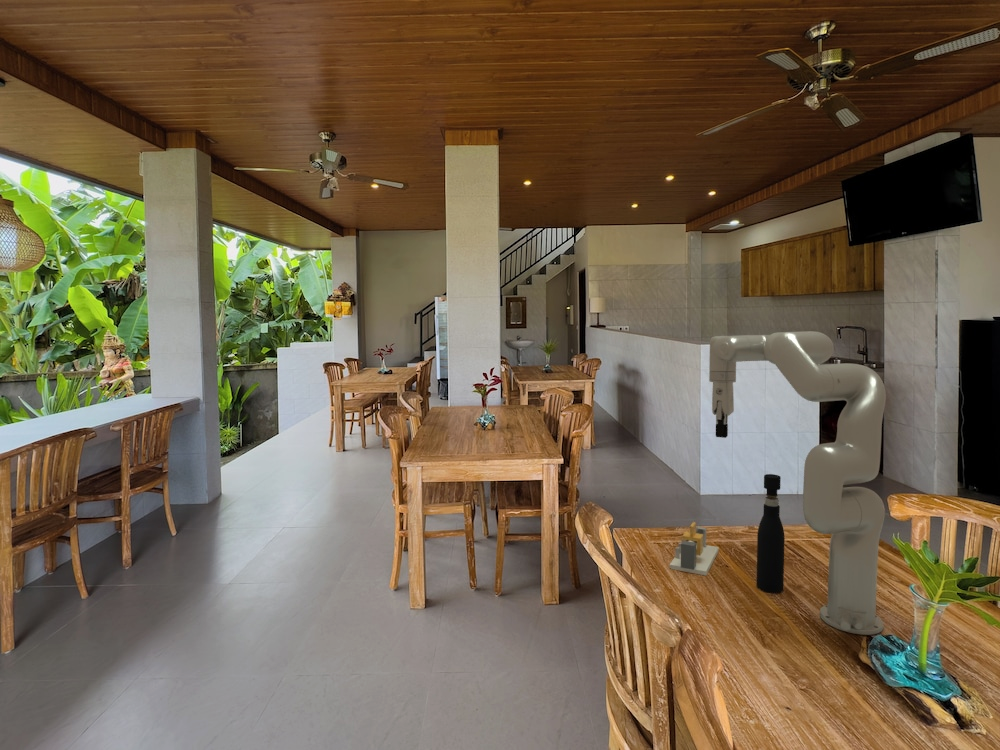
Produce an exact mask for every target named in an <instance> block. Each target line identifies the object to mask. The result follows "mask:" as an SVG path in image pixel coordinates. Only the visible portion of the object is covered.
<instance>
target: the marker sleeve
mask: <svg viewBox="0 0 1000 750" xmlns="http://www.w3.org/2000/svg"><path fill="white" fill-rule="evenodd" d="M689 527H690V529H689V531H685V532H684V533H683V534H682V538H683V541H697V550H696V555H699V556H701V554H702V552H703V534H698V533H696V527H697V522H695V521H692V523H691V524H690V526H689Z"/></svg>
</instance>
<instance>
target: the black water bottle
mask: <svg viewBox="0 0 1000 750" xmlns="http://www.w3.org/2000/svg"><path fill="white" fill-rule="evenodd" d="M781 479H782V478H781V476H780V475H779V474H772V473H769V474H768V473H767V474H766V473H765V474H764V476H763V488H764V489H765V490H766V493H765V495H766V496H765V498H764V504H763V514H762V517H761V520H760V522H759V526H758V529H757V537H756V538H757V539H756V540H757V541H756V543H757V544H756V588H757V589H758V590H760V591H762V592H764V593H768V594H780V593H783V591H784V582H785V581H784V580H785V579H784V578H785V577H784V576H785V575H784V573H785V540H786V539H785V538H786V537H785V530H784V526H783V524H782V523H783V522H782V520H781V517H780V505H779V501H780V500H779V498H778V491H780V490H781Z"/></svg>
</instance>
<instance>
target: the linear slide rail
mask: <svg viewBox="0 0 1000 750" xmlns="http://www.w3.org/2000/svg"><path fill="white" fill-rule="evenodd" d="M696 533H698V534H703V552H702V554H701V556H699V555H696V550H697V541H690V540H689V541H683V537H682V538H681V542H678V546H675V556H674V558H673V559H672V560H671V562H670V564H669V569H670V568H671V569H670V570H674V569H675V571H681V572H684V573H685V572H686V573H690V574H696V575H702V576H705V577H706V576H707V575H708V573H709V571H710V569H711V568H712V565H713V563H714V561H715V559H716V557H717V555H718V554H719V550H720V547H719V546H713V545H708V544H707V527H701V526H696Z"/></svg>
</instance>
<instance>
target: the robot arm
mask: <svg viewBox="0 0 1000 750" xmlns="http://www.w3.org/2000/svg"><path fill="white" fill-rule="evenodd" d="M834 350H835V349H834V343H833V341H832V339H831V338H830V337H829V336H828V335H826V334H825V333H823V332H820V331H814V330H813V331H809V330H808V331H782V332H781V331H779V332H773V333H771V334H746V335H745V334H743V335H717V336H716V335H715V336H712V337H711V338H710V340H709V367H708V368H709V373H708V375H709V376H708V379H709V380H708V382H709V383H712V391H711V392H712V395H711V396H712V398H711V399H712V401H711V402H712V403H711V405H712V407H711V410H712V414H713V415H714V416H715V437H716V438H724V439H726V438H727V437H728V434H729V433H728V431H729V428H728V427H729V425H728V418H729V417H728V416H731V415H732V414H733V413H734V409H735V408H734V407H735V405H734V401H735V400H734V399H735V398H734V383H736V381H737V362H760V361H761V362H763V361H765V362H769V363H771V364H773V365H775V366H776V367H777V369H778V370H779V372H780V373H781V374H782V376H783V377H784V378H785V379H786V380H787V382H788V383H789V384H790V385H791V387H792V388H793V390H794V391H795V392H796V393H797V394H798V395H799V396H800V397H801V398H802V399H805V400H806V401H808V402H812V403H813V402H815V403H821V402H835V401H845V402H846V404H845V406H844V407H843V409H842V410H841V412H840V414H839V417H838V419H837V426H836V428H837V429H836V430H837V432H836V438H835V441H834V442H826V443H820V444H818V445H815V446H814V447H813V448H811V449H810V450H809V452H808V453H807V455H806V457H805V461H804V467H803V468H804V470H803V488H802V489H803V490H802V491H803V492H802V511H803V516H804V518H805V519H804V520H805V521H806V523H807V525H808V526H809V528H810V529H811V530H813V531H814V532H816V533H819V534H822V535H831V537H830V541H829V552H828V575H827V576H828V577H827V578H828V581H827V583H828V584H827V604H825V605H823V606H821V607H820V608H819V617H820V618H821V620H823V622H824V623H826V624H827V625H829V626H830V627H833V628H835V629H837V630H840V631H843V632H847V633H850V634H855V635H862V636H863V635H864V636H865V635H866V636H867V635H868V636H870V635H871V636H872V635H876V634H879V633H881V632H882V631H883V630H884V622H883V620H882V619H881V617H879V616H878V615H877V614H876V613H877V612H876V611H877V587H878V562H879V561H878V560H879V548H880V547H879V544H880V536H881V534H882V533H881V532H882V529H883V525H884V520H885V516H886V510H885V504H884V502H883V500H882V498H881V497H880V496H879V494H877V493H876V491H874V490H872V489H870V488H867V487H864V486H849V485H854V484H855V485H856V484H862V483H866V482H867V483H868V482H870V481H872V480H874V479H876V477H877V476H878V474H879V473H880V472H879V471H880V465H881V451H882V449H881V448H882V432H883V431H882V430H883V429H882V427H883V425H882V424H883V418H884V412H885V407H886V401H887V399H886V398H887V392H886V387H885V384H884V382H883V380H882V378H881V377H880V375H879V374H878V373H877V372H876V371H875V370H874V369H872V368H870V367H868V366H866V365H862V364H858V363H829V364H823V363H826V362H827V361H828V360H830V358H831V357H832V356H833V354H834ZM847 485H848V486H849V487H844V486H847Z"/></svg>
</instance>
